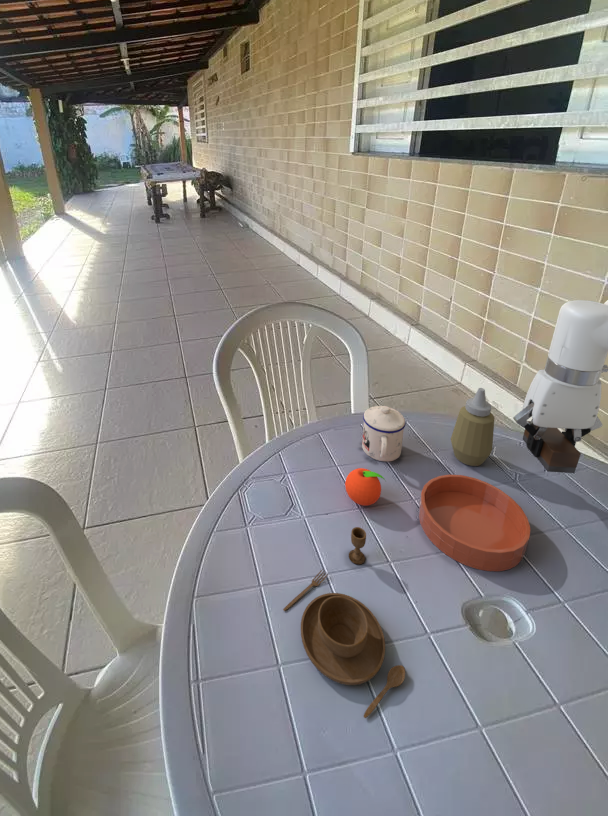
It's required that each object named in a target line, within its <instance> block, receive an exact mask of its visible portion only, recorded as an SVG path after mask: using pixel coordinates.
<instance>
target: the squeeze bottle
mask: <svg viewBox="0 0 608 816" xmlns="http://www.w3.org/2000/svg"><path fill="white" fill-rule="evenodd" d="M491 411H492V405H491V404H490V403H489V402H488V401H487V400H486V389H485V388H484V387H483V388H482V387H478V389H477V391H476V393H475V394H474V396H473V397H471V398H468V399H467V400H466V402H465V405H464V406H462V407H461V408H460V409H459V411H458V414H457V418H456V421H455V424H454V427H453V431H452V434H451V437H450V443H451V448H452V452H453V455H454V457H455V458H456V460H457V461H459V462H460V463H462V464H464V465H466V466H471V467H479V466H482V465H483V464H484V463H485V462H486V461H487V459H488V458H489V457H490V455H491V454H492V452H493V448H494V447H493V445H494V432H495V431H494V430H495V417H494V414H493V413H492V412H491Z"/></svg>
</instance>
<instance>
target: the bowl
mask: <svg viewBox="0 0 608 816" xmlns="http://www.w3.org/2000/svg"><path fill="white" fill-rule="evenodd" d="M419 498H420V499H419V506H418V520H419V524H420V526H421V529H422V530H423V532H424V534H425V535H426V537H427V538H428V540H429V541H430V542H431V543H432V544H433V545H434V546H435V547H436V548H437V550H439V551H441V552H442V553H443V554H444V555H446V556H447V557H449V558H451V559H452V560H454V561H456V562H457V563H459V564H462V565H463V566H466V567H469V568H472V569H476V570H479V571H483V572H484V571H486V572H503V571H508V570H511V569H513V568H515V567H516V566H518V565H519V564H520V563H521V562H522V561H523V559H524V557H525V555H526V553H527V548H528V544H529V541H530V537H531V525H530V522H529V521H530V520H529V518H528V517H527V515H526V513H525V511H524V510H523V508H522V507H521V506H520V505H519V504H518V502H516V501H515V500H514V499H513V498H512V497H511V496H509V494H507V493H505V492H504V491H503V490H502V489H500V488H498V487H496V486H494V485H493V484H491V483H489V482H487V481H483V480H482V479H479V478H476V477H472V476H467V475H463V474H443V475H438V476H436V477H433V478H430V479H429V480H428V481H427V482H426V483H425V484H424V485H423V487H422V489H421V493H420V497H419Z"/></svg>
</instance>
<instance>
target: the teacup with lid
mask: <svg viewBox="0 0 608 816" xmlns="http://www.w3.org/2000/svg"><path fill="white" fill-rule="evenodd" d="M362 420H363V427H362V428H363V429H362V430H363V431H362V438H361V439H362V440H361V448H362V450H363V452H364V453H365V454H366V456H368V457H370V458H371V459H373V460H376V461H379V462H393V461H396V460H397V459H398V458H400V457H401V454H402V448H403V440H404V430H405V428H406V425H407V424H406V423H407V422H406V419H405V417H404V415H403V414H402V413H401V412H400V411H398V410H397V409H395V408H393V407H389V406H387V405H375V406H371V407H369V408H367V409H366V410H364V413H363V415H362Z"/></svg>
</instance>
